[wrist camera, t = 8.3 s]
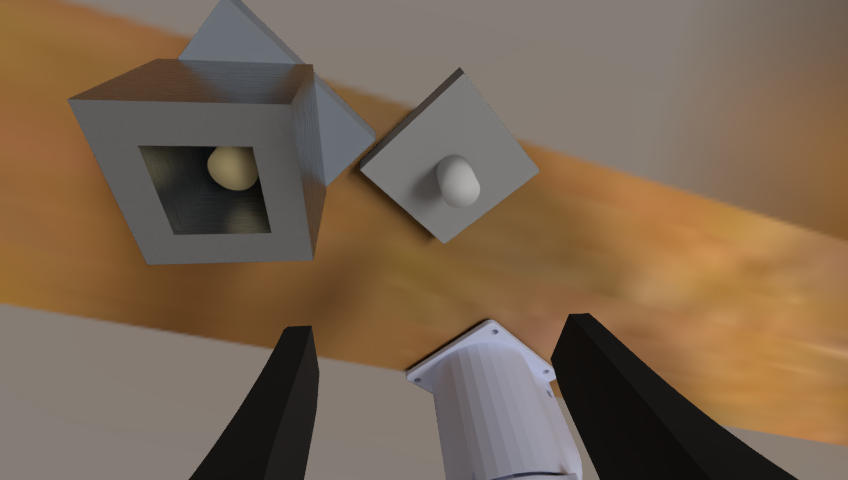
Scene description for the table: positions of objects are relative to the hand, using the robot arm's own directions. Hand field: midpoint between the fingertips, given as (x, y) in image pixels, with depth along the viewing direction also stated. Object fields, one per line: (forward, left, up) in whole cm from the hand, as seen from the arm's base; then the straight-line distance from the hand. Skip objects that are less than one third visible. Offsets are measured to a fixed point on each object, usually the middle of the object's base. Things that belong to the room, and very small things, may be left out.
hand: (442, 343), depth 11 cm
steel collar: (+7, +3, -9) cm, 11 cm away
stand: (0, -2, -10) cm, 10 cm away
